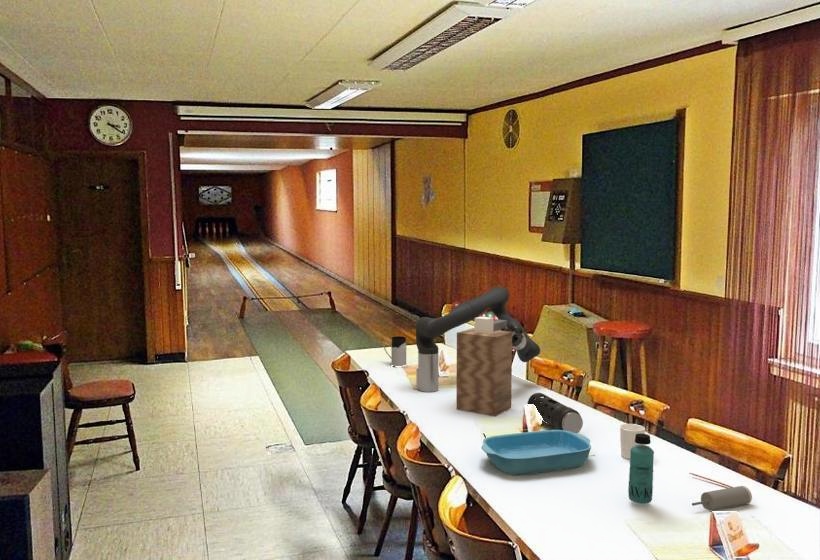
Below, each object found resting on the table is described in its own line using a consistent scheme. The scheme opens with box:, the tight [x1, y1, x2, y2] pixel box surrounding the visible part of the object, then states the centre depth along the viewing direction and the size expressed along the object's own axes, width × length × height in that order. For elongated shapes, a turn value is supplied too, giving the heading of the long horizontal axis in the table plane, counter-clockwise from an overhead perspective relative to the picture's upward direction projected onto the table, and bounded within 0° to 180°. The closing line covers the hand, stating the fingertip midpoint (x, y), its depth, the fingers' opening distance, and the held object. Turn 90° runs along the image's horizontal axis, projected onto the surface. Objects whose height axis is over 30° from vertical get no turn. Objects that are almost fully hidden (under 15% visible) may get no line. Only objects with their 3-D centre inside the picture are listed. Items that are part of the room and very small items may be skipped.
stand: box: [455, 327, 513, 417], centre depth 290 cm, size 18×14×32 cm
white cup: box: [619, 423, 646, 460], centre depth 235 cm, size 8×8×10 cm
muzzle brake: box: [527, 392, 584, 434], centre depth 266 cm, size 10×28×10 cm, turn 16°
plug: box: [473, 316, 507, 334], centre depth 294 cm, size 6×19×6 cm, turn 145°
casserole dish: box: [480, 429, 592, 476], centre depth 230 cm, size 37×22×7 cm, turn 106°
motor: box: [689, 472, 753, 512], centre depth 204 cm, size 23×22×5 cm
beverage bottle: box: [627, 433, 655, 505], centre depth 196 cm, size 6×7×20 cm
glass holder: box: [382, 335, 407, 366], centre depth 373 cm, size 9×14×15 cm, turn 57°
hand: (500, 324), depth 300 cm, fingers open, 8 cm apart
